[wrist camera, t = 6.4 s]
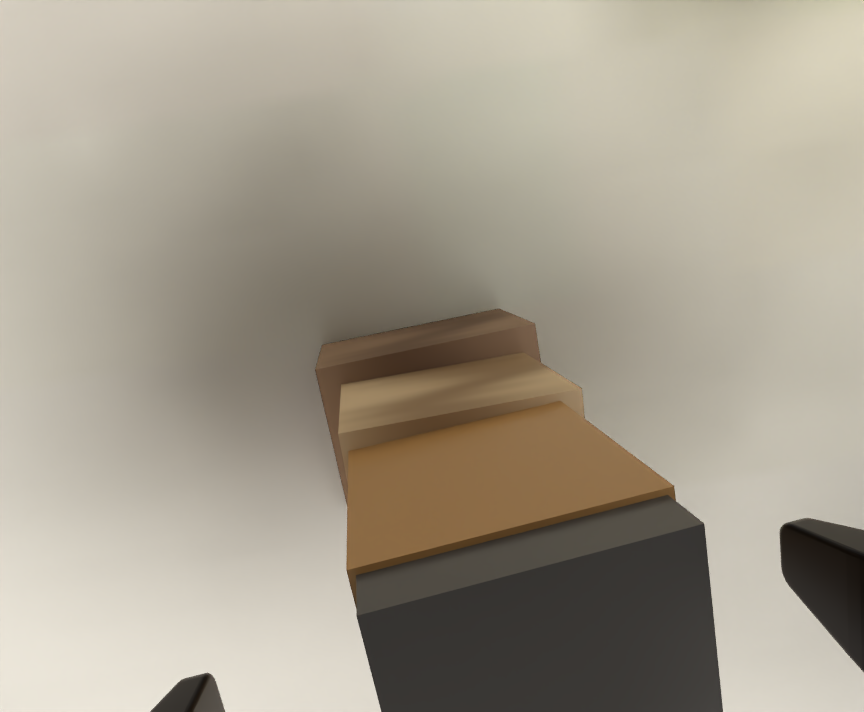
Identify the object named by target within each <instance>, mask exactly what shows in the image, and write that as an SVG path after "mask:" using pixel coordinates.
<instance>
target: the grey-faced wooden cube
mask: <svg viewBox="0 0 864 712" xmlns="http://www.w3.org/2000/svg"><path fill="white" fill-rule="evenodd" d="M347 574H348V578H349V582H350V586H351V590H352V593H353V597H354V601H355V605H356V609H357V619H358V623H359V627H360V630H361V634H362V638H363V642H364V646H365V650H366V654H367V657H368V661H369V665H370V669H371V673H372V677H373V681H374V685H375V688H376V692H377V696H378V700H379V704H380V708H381V712H723V708H722V698H721V688H720V678H719V668H718V658H717V647H716V637H715V627H714V617H713V607H712V597H711V587H710V577H709V567H708V557H707V547H706V537H705V527H704V523H703V522H701V521H700V520H699V519H698V518H696V517H695V516H694V515H693V514H691V513H690V512H689V511H688V510H686V509H685V508H684V507H683V506H681V505H680V504H679V503H677V502H676V499H675V490H674V486H673V485H672V484H671V483H669V482H668V481H667V480H665V479H664V478H663V477H661V476H660V475H659V474H657V473H656V472H655V471H653V470H652V469H651V468H649V467H648V466H647V465H645V464H644V463H643V462H641V461H640V460H639V459H637V458H636V457H635V456H633V455H632V454H631V453H629V452H628V451H627V450H625V449H624V448H623V447H621V446H620V445H619V444H617V443H616V442H615V441H613V440H612V439H611V438H609V437H608V436H607V435H605V434H604V433H603V432H601V431H600V430H599V429H597V428H596V427H595V426H594V425H592V424H591V423H590V422H588V421H587V420H586V419H584V418H583V417H582V416H580V415H579V414H578V413H576V412H575V411H574V410H572V409H571V408H570V407H568V406H567V405H566V404H564V403H563V402H562V401H558V402H553V403H549V404H545V405H541V406H536V407H532V408H528V409H524V410H520V411H515V412H511V413H507V414H503V415H498V416H494V417H490V418H486V419H482V420H477V421H473V422H469V423H465V424H460V425H456V426H452V427H448V428H444V429H439V430H435V431H431V432H427V433H423V434H418V435H414V436H410V437H406V438H402V439H397V440H393V441H389V442H385V443H381V444H376V445H372V446H368V447H364V448H359V449H355V450H351V451H348V508H347Z"/></svg>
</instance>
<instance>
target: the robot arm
mask: <svg viewBox="0 0 864 712" xmlns="http://www.w3.org/2000/svg"><path fill="white" fill-rule="evenodd" d="M780 549H781V568H782V572H783V576H784V578H785V580H786V582H787V583H788V585H789V586H790V588H791V589H792V590H793V591H794V592H795V593H796V595H797V596H798V597H799V598H800V599H801V600H802V602H803V603H804V604H805V605H806V606H807V607H808V609H809V610H810V611H811V612H812V613H813V614H814V616H815V617H816V618H817V619H818V620H819V621H820V623H821V624H822V625H823V626H824V627H825V628H826V630H827V631H828V632H829V633H830V634H831V635H832V637H833V638H834V639H835V640H836V641H837V642H838V644H839V645H840V646H841V647H842V648H843V649H844V651H845V652H846V653H847V654H848V655H849V656H850V657H851V659H852V660H853V661H854V662H855V663H856V664H857V665H858V666H859V667H860V669H861V670H862V671H863V672H864V530H861V529H856V528H852V527H847V526H843V525H838V524H833V523H829V522H824V521H820V520H815V519H810V518H803V519H799V520H796V521H792V522H788V523H785V524H784V525H782V527H781V529H780ZM150 712H225V710H224V707H223V703H222V700H221V697H220V694H219V690H218V687H217V684H216V681H215V679H214V677H213V676H212V675H211V674H209V673H204V674H200V675H196V676H193V677H189V678H185V679H182V680H181V681H180V682H178V683H177V684H176V685H175V686H174V687H173V689H172V690H171V691H170V692H169V693H168V694H167V695H166V696H165V697H164V698H163V699H162V700H161V701H160V702H159V703H158V704H157V705H156V706H155V707H154V708H153V709H152V710H151V711H150Z"/></svg>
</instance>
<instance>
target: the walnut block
mask: <svg viewBox="0 0 864 712" xmlns="http://www.w3.org/2000/svg"><path fill="white" fill-rule="evenodd" d="M523 352H524V353H526V354H527V355H529V356H530V357H532V358H534V359H535V360H537V361H539V362H540V363H541V361H540V354H539V347H538V341H537V334H536V327H535V323H532V322H530V321H528V320H525V319H523V318H520V317H518V316H516V315H513V314H511V313H509V312H506V311H504V310H501V309H494V310H490V311H485V312H480V313H475V314H470V315H465V316H460V317H456V318H451V319H446V320H441V321H436V322H431V323H426V324H421V325H417V326H412V327H407V328H402V329H397V330H392V331H387V332H382V333H378V334H373V335H368V336H363V337H358V338H353V339H348V340H344V341H339V342H334V343H329V344H324V345H322V347H321V351H320V354H319V358H318V361H317V365H316V369H315V371H316V375H317V380H318V384H319V388H320V392H321V397H322V401H323V405H324V409H325V414H326V418H327V422H328V426H329V431H330V435H331V439H332V443H333V448H334V452H335V456H336V460H337V465H338V469H339V473H340V477H341V482H342V486H343V490H344V494H345V499H346V503H347V507H348V483H347V477H346V472H345V467H344V462H343V457H342V451H341V446H340V441H339V436H338V428H339V412H340V396H341V385H342V384H347V383H353V382H359V381H364V380H370V379H376V378H381V377H387V376H393V375H398V374H404V373H410V372H415V371H421V370H426V369H432V368H438V367H443V366H449V365H455V364H460V363H466V362H472V361H477V360H483V359H489V358H494V357H500V356H506V355H511V354H517V353H523Z"/></svg>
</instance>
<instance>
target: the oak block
mask: <svg viewBox="0 0 864 712" xmlns="http://www.w3.org/2000/svg"><path fill="white" fill-rule="evenodd" d="M558 401H562V402H563V403H564V404H566V405H567V406H568V407H570V408H571V409H572V410H574V411H575V412H576V413H578V414H579V415H580V416H582V417H583V418H584V419H585V417H584V406H583V396H582V388H580V387H579V386H577V385H575V384H574V383H572V382H571V381H569V380H567V379H566V378H564V377H563V376H561V375H559V374H558V373H556V372H555V371H553V370H551V369H550V368H548V367H547V366H545V365H543V364H542V363H540V362H539V361H537V360H535V359H534V358H532V357H530V356H529V355H527V354H526V353H524V352H523V353H517V354H511V355H506V356H500V357H494V358H489V359H483V360H477V361H472V362H466V363H460V364H455V365H449V366H443V367H438V368H432V369H426V370H421V371H415V372H410V373H404V374H398V375H393V376H387V377H381V378H376V379H370V380H364V381H359V382H353V383H347V384H342V385H341V396H340V412H339V428H338V436H339V441H340V446H341V451H342V457H343V462H344V467H345V472H346V477H347V483H348V451H351V450H355V449H359V448H364V447H368V446H372V445H376V444H381V443H385V442H389V441H393V440H397V439H402V438H406V437H410V436H414V435H418V434H423V433H427V432H431V431H435V430H439V429H444V428H448V427H452V426H456V425H460V424H465V423H469V422H473V421H477V420H482V419H486V418H490V417H494V416H498V415H503V414H507V413H511V412H515V411H520V410H524V409H528V408H532V407H536V406H541V405H545V404H549V403H553V402H558Z"/></svg>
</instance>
